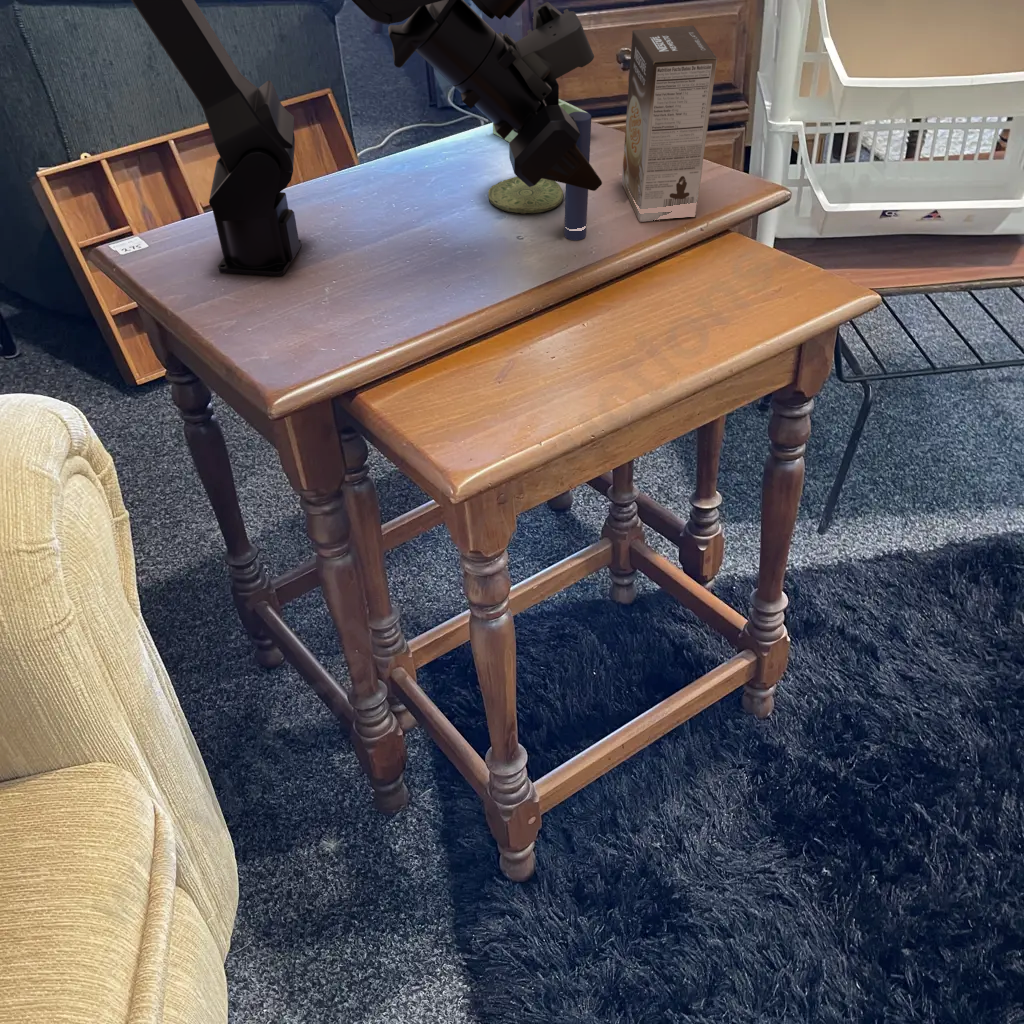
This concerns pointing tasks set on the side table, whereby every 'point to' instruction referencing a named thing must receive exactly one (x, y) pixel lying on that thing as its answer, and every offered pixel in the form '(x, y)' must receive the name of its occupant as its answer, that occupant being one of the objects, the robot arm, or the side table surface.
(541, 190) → the medallion
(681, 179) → the coffee box
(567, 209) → the tall navy cylinder rod
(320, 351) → the side table surface
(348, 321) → the side table surface
